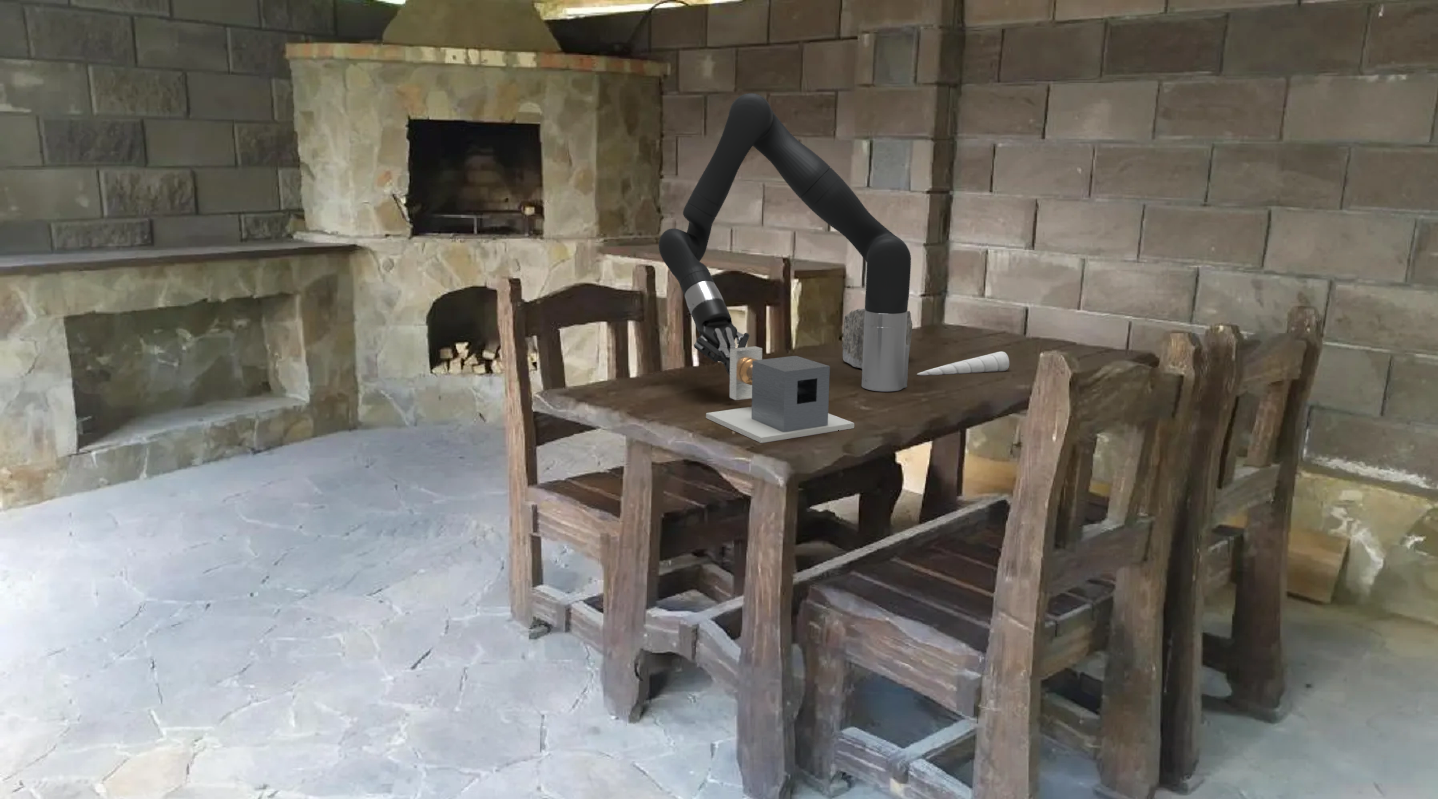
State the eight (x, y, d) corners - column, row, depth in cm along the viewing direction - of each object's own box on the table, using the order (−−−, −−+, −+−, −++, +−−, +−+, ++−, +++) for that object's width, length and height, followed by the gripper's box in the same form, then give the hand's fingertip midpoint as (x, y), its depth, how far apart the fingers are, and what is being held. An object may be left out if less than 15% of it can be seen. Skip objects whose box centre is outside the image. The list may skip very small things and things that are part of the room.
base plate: (794, 405, 213) (794, 400, 213) (854, 428, 196) (854, 423, 196) (705, 418, 203) (705, 413, 202) (761, 443, 186) (761, 437, 186)
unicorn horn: (909, 373, 245) (910, 353, 244) (999, 369, 251) (1001, 349, 250) (918, 377, 241) (919, 357, 240) (1009, 373, 247) (1011, 353, 246)
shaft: (754, 394, 212) (755, 346, 209) (797, 410, 199) (799, 359, 196) (729, 397, 209) (730, 348, 206) (771, 414, 196) (772, 363, 193)
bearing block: (794, 412, 203) (795, 355, 201) (827, 425, 194) (829, 366, 191) (751, 418, 198) (752, 360, 196) (783, 432, 189) (785, 371, 186)
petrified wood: (887, 354, 267) (890, 296, 263) (931, 366, 252) (934, 305, 248) (827, 360, 258) (829, 301, 254) (868, 374, 243) (871, 311, 240)
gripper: (686, 299, 212) (715, 368, 205) (740, 294, 219) (771, 361, 211) (673, 320, 218) (702, 389, 211) (727, 316, 224) (757, 382, 217)
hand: (737, 375), depth 211 cm, fingers closed
